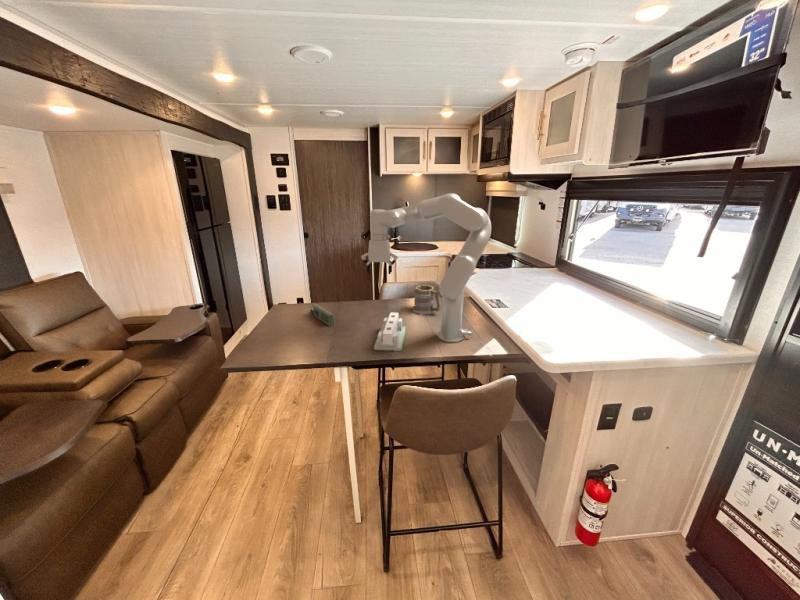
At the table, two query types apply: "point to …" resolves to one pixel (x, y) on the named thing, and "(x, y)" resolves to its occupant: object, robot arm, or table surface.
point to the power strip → (390, 328)
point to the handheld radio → (323, 315)
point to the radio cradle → (396, 342)
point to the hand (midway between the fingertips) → (379, 273)
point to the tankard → (426, 300)
